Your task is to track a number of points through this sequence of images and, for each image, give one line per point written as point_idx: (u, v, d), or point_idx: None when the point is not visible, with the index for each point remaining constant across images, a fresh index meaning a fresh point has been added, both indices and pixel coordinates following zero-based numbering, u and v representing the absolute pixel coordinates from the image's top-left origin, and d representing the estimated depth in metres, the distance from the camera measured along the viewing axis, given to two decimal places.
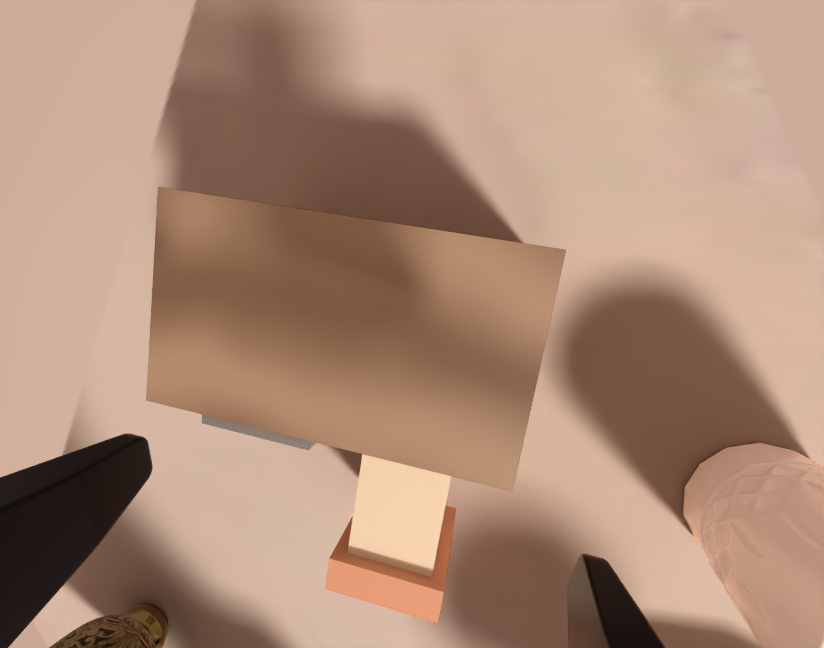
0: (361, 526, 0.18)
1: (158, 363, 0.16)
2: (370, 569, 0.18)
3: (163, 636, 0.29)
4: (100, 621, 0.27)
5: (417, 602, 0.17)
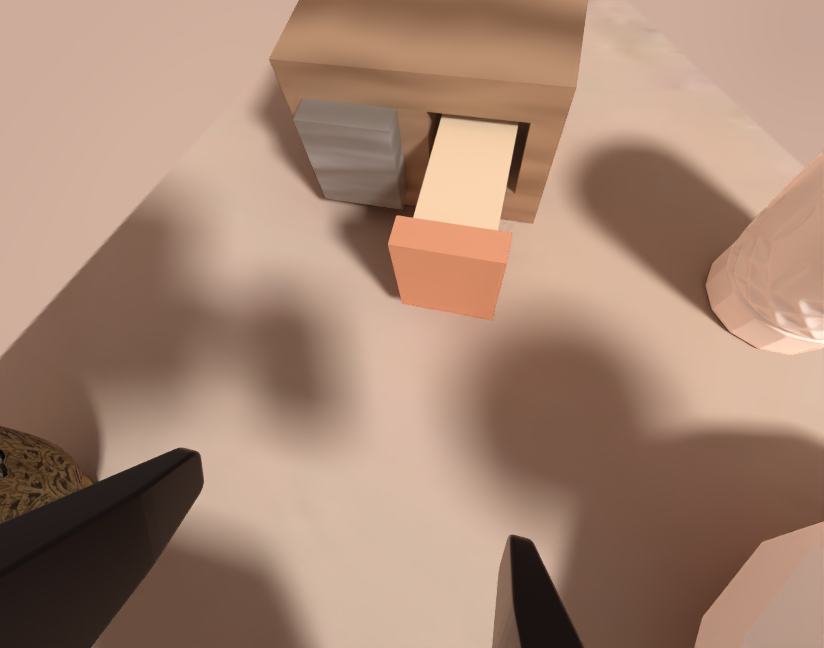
0: (427, 201, 0.19)
1: (289, 37, 0.20)
2: (437, 222, 0.18)
3: None
4: None
5: (485, 245, 0.17)
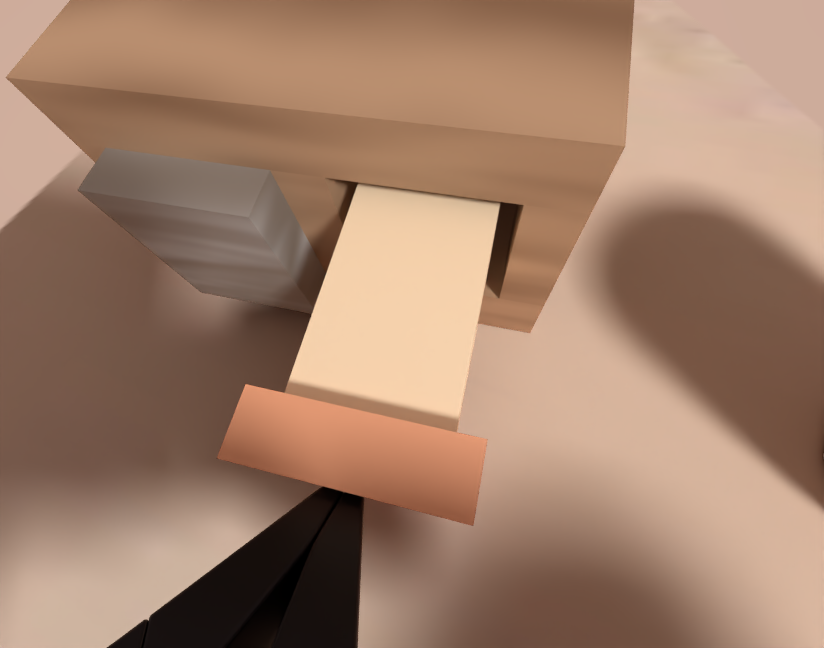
0: (321, 340, 0.09)
1: (57, 34, 0.10)
2: (328, 404, 0.08)
3: None
4: None
5: (426, 472, 0.08)
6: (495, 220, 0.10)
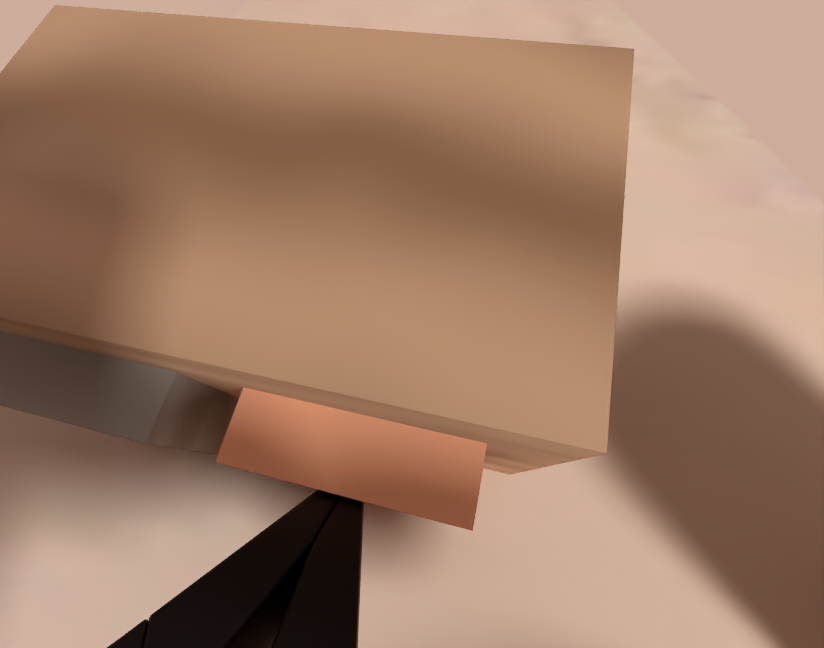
0: None
1: None
2: (327, 407, 0.08)
3: None
4: None
5: (426, 476, 0.08)
6: None
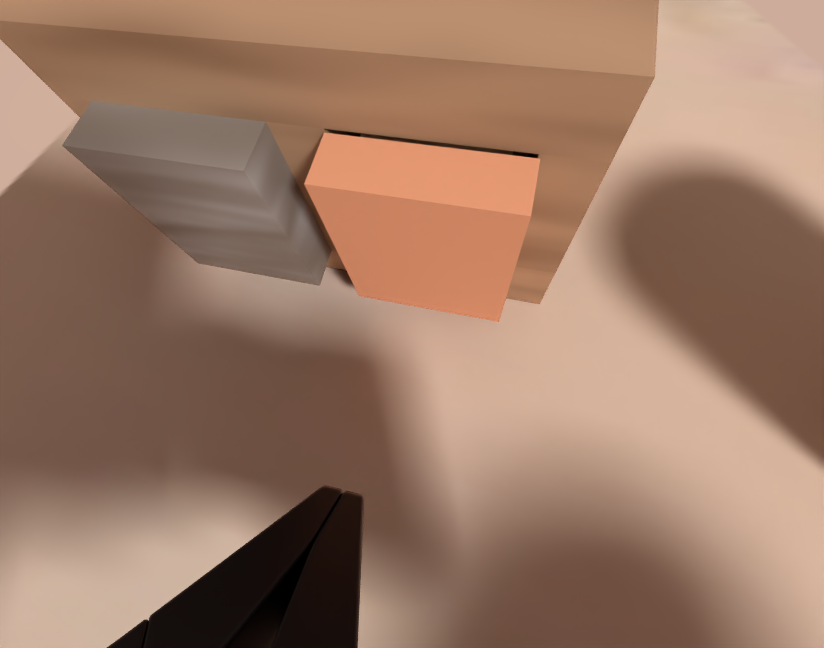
0: None
1: None
2: (398, 144, 0.10)
3: None
4: None
5: (488, 183, 0.09)
6: None
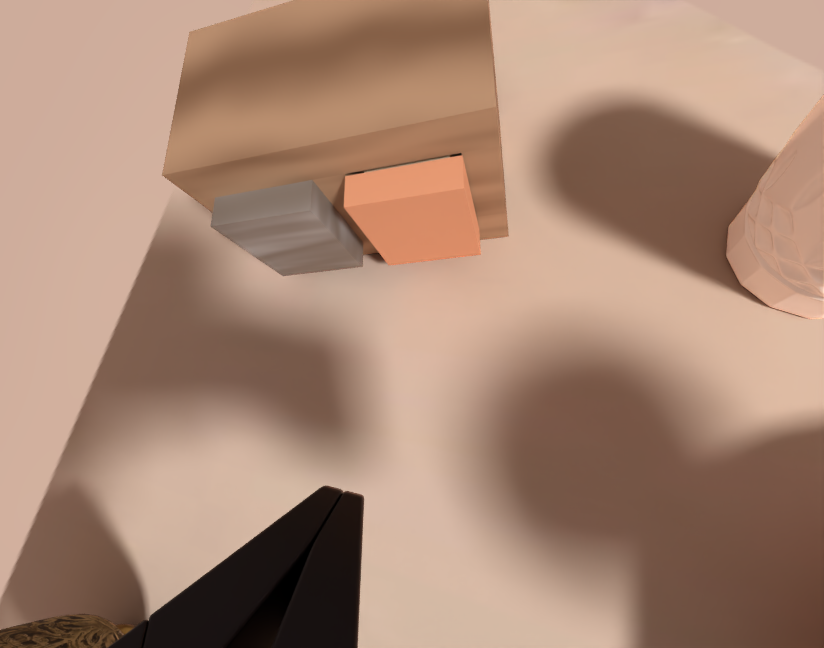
0: None
1: (176, 142, 0.18)
2: (386, 170, 0.17)
3: None
4: None
5: (438, 177, 0.16)
6: None
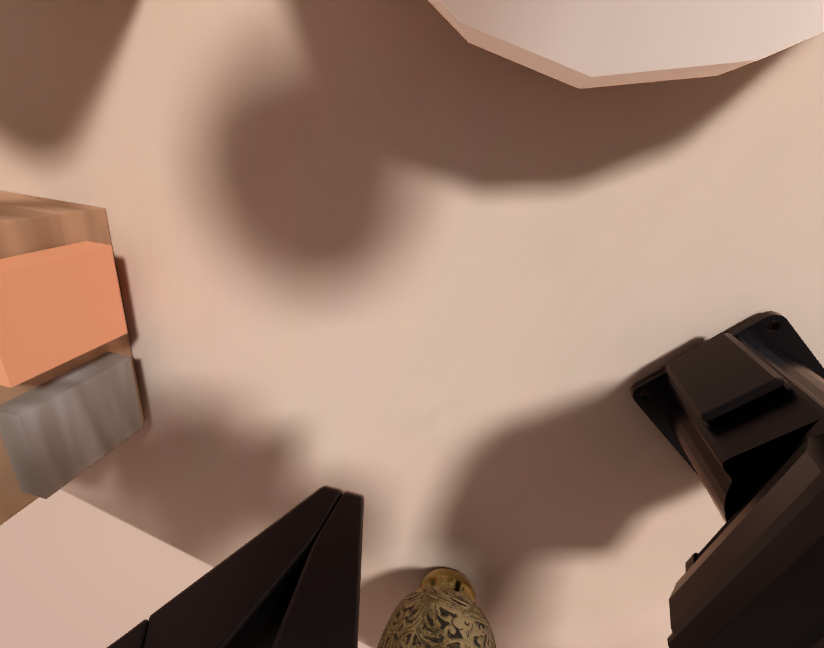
0: None
1: None
2: None
3: (446, 576, 0.26)
4: None
5: None
6: None
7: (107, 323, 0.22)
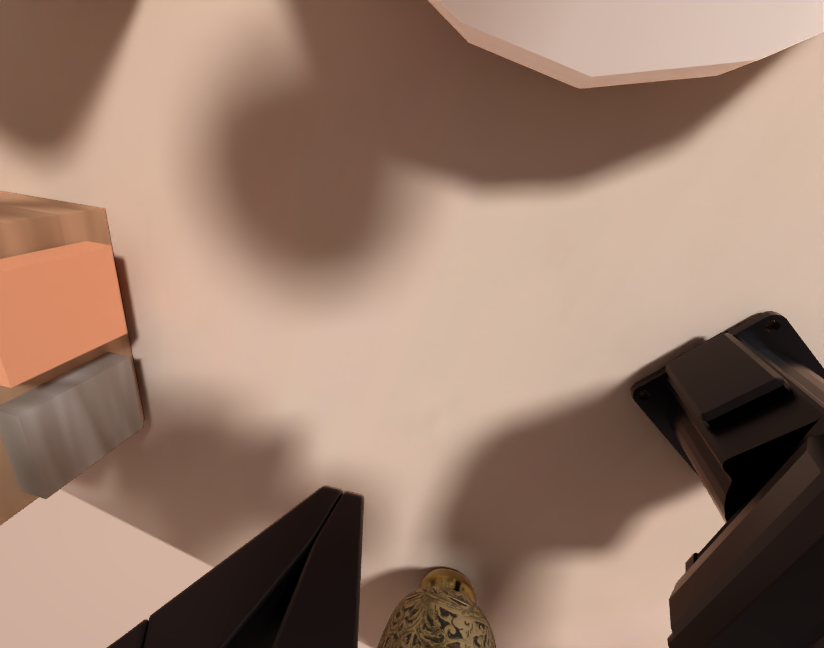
0: None
1: None
2: None
3: (446, 576, 0.26)
4: None
5: None
6: None
7: (107, 323, 0.22)
